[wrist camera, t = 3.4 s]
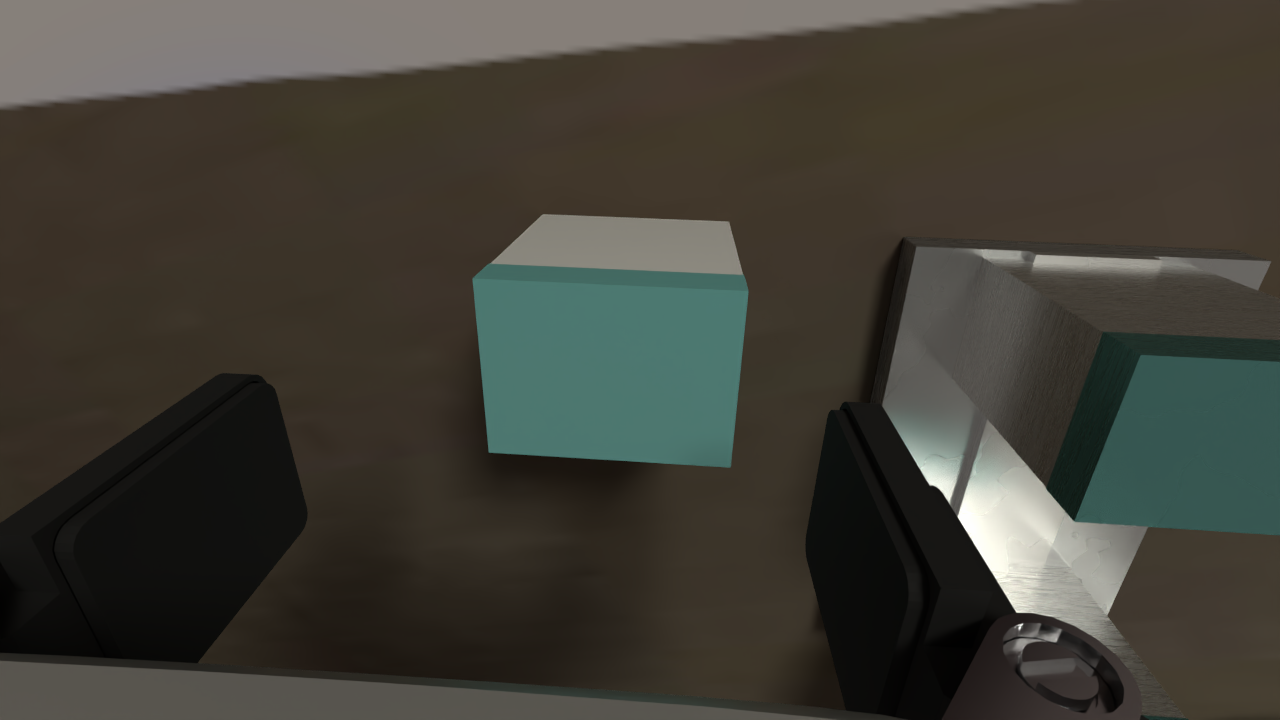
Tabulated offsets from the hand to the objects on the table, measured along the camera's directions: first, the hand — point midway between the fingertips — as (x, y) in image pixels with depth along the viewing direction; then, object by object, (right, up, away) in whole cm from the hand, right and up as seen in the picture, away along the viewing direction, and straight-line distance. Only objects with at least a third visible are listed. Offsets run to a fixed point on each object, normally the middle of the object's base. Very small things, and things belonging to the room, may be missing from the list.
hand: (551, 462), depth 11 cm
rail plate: (+15, -2, +12) cm, 19 cm away
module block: (+1, +4, +10) cm, 11 cm away
